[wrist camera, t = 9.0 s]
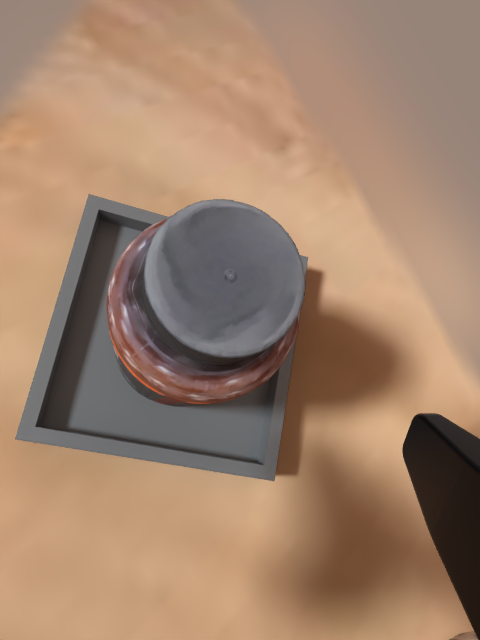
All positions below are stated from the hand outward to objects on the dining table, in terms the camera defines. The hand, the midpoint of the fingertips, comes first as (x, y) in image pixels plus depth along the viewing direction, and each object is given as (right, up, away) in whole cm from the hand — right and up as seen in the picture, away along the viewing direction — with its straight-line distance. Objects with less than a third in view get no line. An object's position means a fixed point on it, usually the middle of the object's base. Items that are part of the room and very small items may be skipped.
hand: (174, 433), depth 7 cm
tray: (-2, +1, +14) cm, 14 cm away
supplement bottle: (-2, +1, +13) cm, 14 cm away
